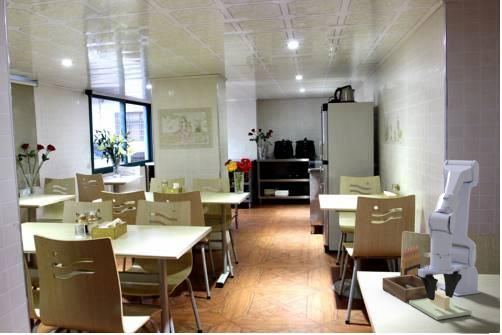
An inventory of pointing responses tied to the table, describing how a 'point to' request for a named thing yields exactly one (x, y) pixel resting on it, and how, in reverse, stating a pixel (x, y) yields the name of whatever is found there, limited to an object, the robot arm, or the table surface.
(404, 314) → the table surface
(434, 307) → the lid
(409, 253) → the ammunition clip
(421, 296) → the wooden open box
